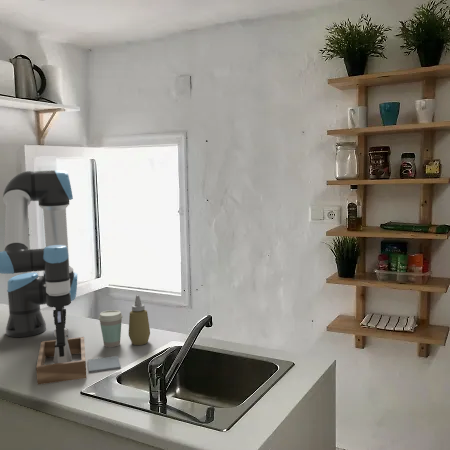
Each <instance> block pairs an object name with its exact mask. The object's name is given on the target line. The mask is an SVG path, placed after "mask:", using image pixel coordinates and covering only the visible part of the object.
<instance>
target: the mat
mask: <svg viewBox="0 0 450 450" xmlns="http://www.w3.org/2000/svg"><path fill="white" fill-rule="evenodd" d="M87 364H88V365H87V367H88V373H97V372H104V371H113V370H118V369H119V370H120V369H121V362H120V359H119V355H114V356H113V355H112V356H107V357H98V358H92V359H91V358H90V359H87Z"/></svg>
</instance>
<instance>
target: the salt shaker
mask: <svg viewBox="0 0 450 450" xmlns="http://www.w3.org/2000/svg"><path fill="white" fill-rule="evenodd" d="M64 332H65V343H66V357H67V362H72V361H73V357H72V354H71V353H70V349H69V345H68V341H67V339H68V337H66V336H67V335H68V336H69V330H68V329H67V328H66V327H65V328H64ZM53 336H54V337H55V338H56V329H55V330H54V331H53ZM55 340H56V339H55ZM56 344H57V340H56ZM56 363H58V356H57V347H55V353H54V357H53V364H56Z"/></svg>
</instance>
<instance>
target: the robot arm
mask: <svg viewBox="0 0 450 450" xmlns="http://www.w3.org/2000/svg"><path fill="white" fill-rule="evenodd" d="M73 199H74V198H73V191H72V186H71V181H70V176H69V173H68V172H67V171H65V170H58V169H57V170H55V169H53V170H26V171H23V172H22V171H21V172H20V173H18V174H16V175H15V176H14V177H12V178H11V180H10V181H9V182H8V183H7V185H6V186H5V188H4V190H3V194H2V202H3V204H4V205H5V217H4V218H5V222H4V224H5V225H4V228H5V229H4V250H2V251H0V274H1V275H3V274H6V275H8V274H12V275H14V274H18V275H15V276H13V277H10V278H9V279H8V280H7V289H6V292H7V297H8V298H7V300H8V312H9V316H8V320H7V323H6V327H5V335H6V336H8V337H10V338H25V337H26V338H27V337H33V336H37V335H40V334H42V333H43V332H45V331H46V330H47V323H46V320H45V318H44V315H43V313H42V312H41V306H42V305H46V306H48V307H49V308H55V309H52V315H53V316H52V317H53V319H54V320H53V322H54V326H55V330H56V337H55V340H57V344H56V345H55V347H57V356H58V363H64V362H67V357H66V343H65V332H64V328H66V319H67V309H66V308H65V307H67V306H70V304H71V303H72V302H73V301H74V300H76V297H77V292H78V291H77V290H78V273H77V272H74V268H73V267H71V266H70V258H69V257H70V255H69V242H68V241H69V239H68V238H69V237H68V225H67V208H68V207H69V206H70V201H71V200H73ZM31 202H38V206H39V207H40V208H41V209H42V210H43V211H42V212H43V213H42V215H43V225H44V226H43V227H44V228H43V229H44V240H45V241H44V242H45V247H44V248H36V249H35V248H32V249H29V205H30V204H31ZM42 271H43V275H39V274H38V273H37V272H42ZM66 337H67V338H68V337H69V334H68V335H67V336H66Z"/></svg>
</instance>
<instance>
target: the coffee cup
mask: <svg viewBox="0 0 450 450" xmlns="http://www.w3.org/2000/svg"><path fill="white" fill-rule="evenodd" d="M121 312H122V311H120V310H115V309H112V310H111V309H110V310H104V311H101V312H100V313H99V317H98V321H99V323H100V324H99V325H100V330H101V335H102V341H103V346H104V347H106V348H115V347H118V346H119V345H120V344H121V334H122V319H123V314H122V313H121Z"/></svg>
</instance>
